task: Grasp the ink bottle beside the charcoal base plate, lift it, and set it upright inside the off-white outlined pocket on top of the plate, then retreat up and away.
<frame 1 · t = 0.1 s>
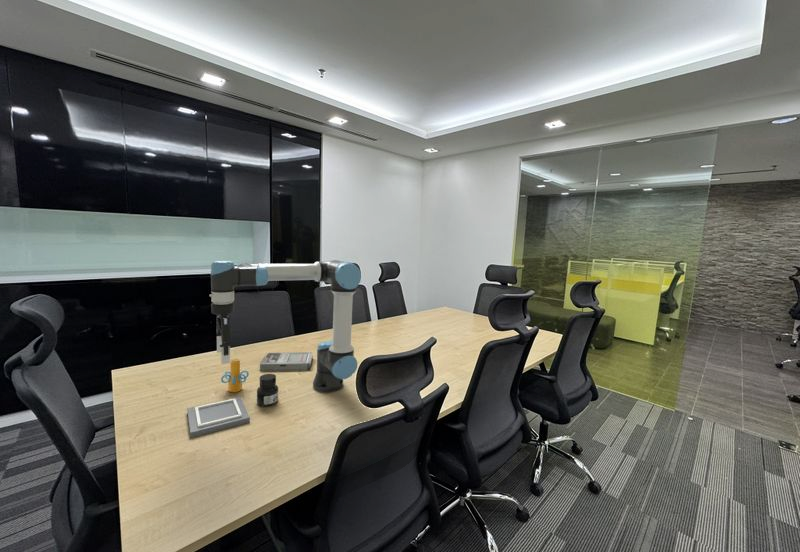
hand: (223, 357, 123), 28 cm above the table, fingers open, 13 cm apart
hard drive: (287, 365, 191), on the table
orange post with loops: (235, 390, 156), on the table
ink bottle: (267, 402, 146), on the table
base plate: (218, 417, 132), on the table
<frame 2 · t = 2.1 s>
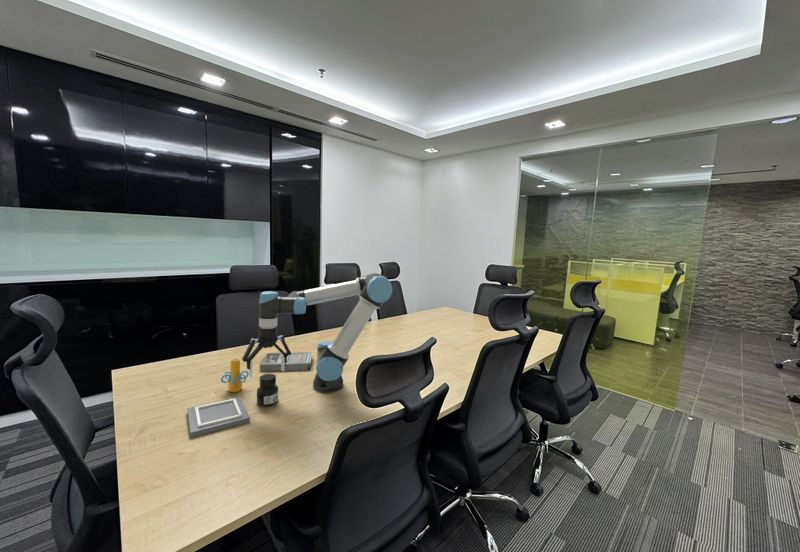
hand: (267, 373, 145), 14 cm above the table, fingers open, 13 cm apart
nothing on the table moved.
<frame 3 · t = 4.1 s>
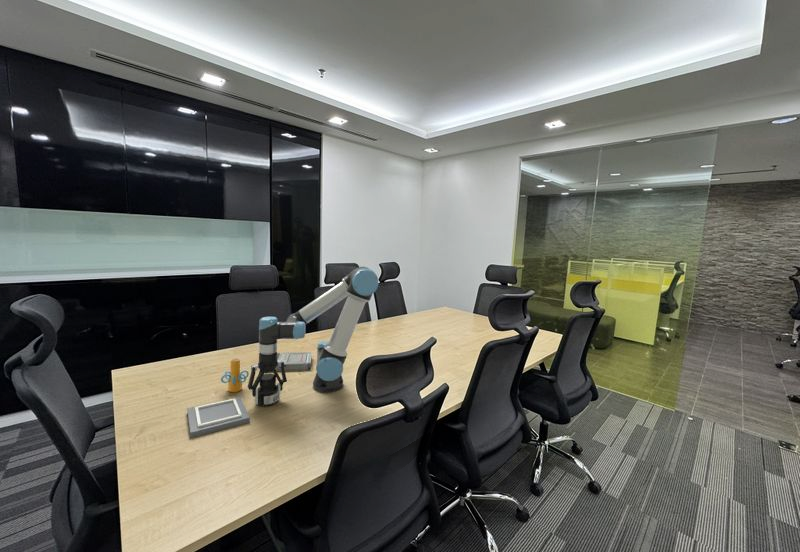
hand: (267, 400, 146), 1 cm above the table, fingers closed on ink bottle, 9 cm apart
ink bottle: (267, 402, 146), on the table, touching gripper
everything else where it was.
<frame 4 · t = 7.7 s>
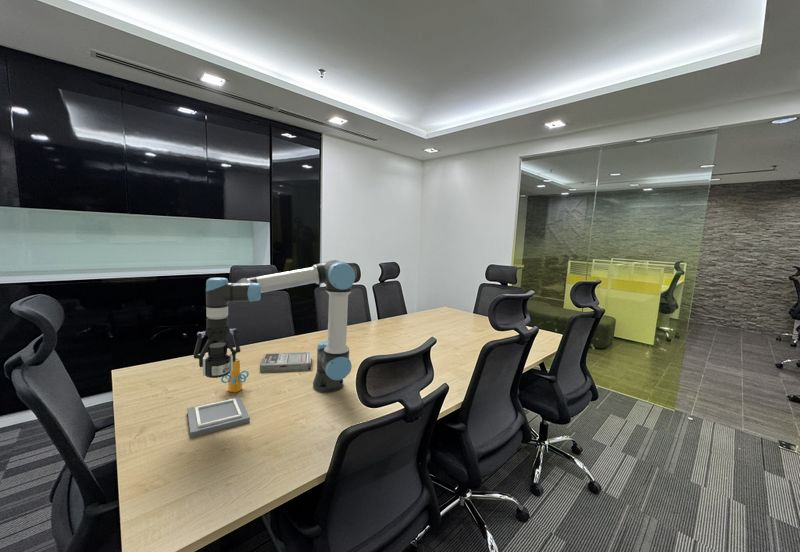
hand: (217, 371, 130), 19 cm above the table, fingers closed on ink bottle, 9 cm apart
ink bottle: (217, 374, 130), point 18 cm above the table, touching gripper
everything else where it was.
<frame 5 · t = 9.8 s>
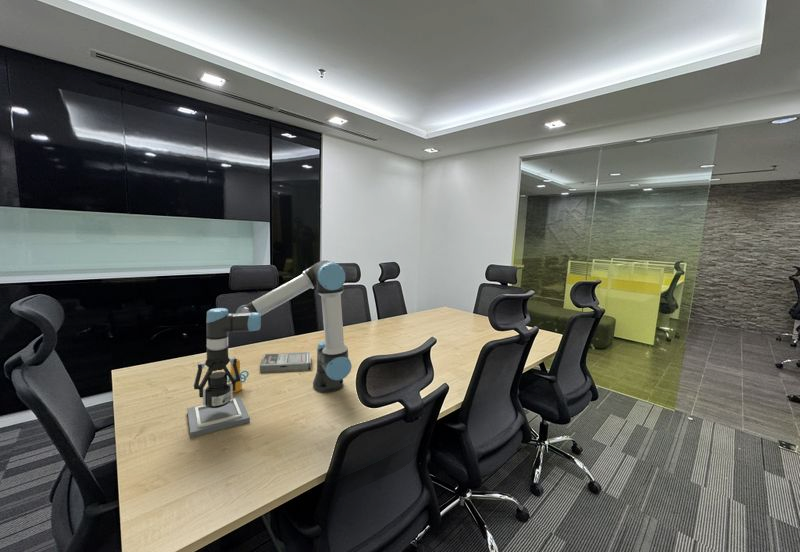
hand: (217, 401, 131), 7 cm above the table, fingers closed on ink bottle, 9 cm apart
ink bottle: (217, 403, 132), point 6 cm above the table, touching gripper
when the fingers open (4 cm above the table, at t = 11.3 s): ink bottle drops 1 cm, resting on base plate.
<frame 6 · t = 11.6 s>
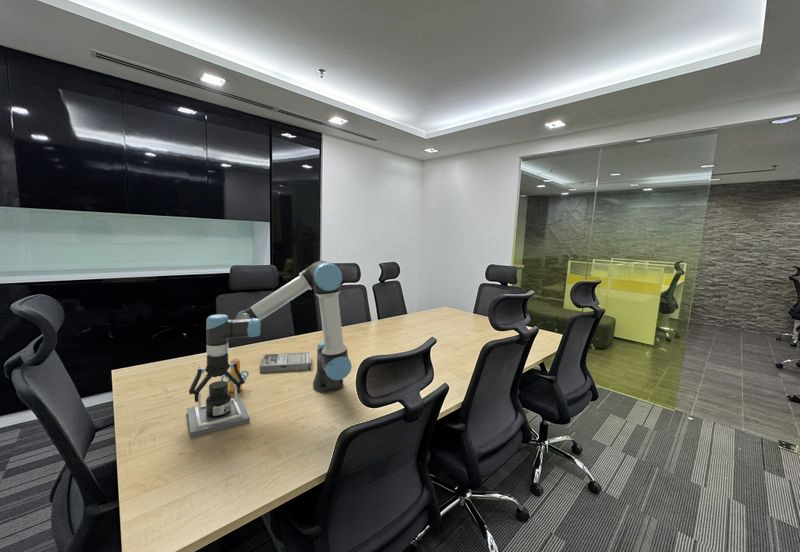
hand: (218, 404, 132), 5 cm above the table, fingers open, 12 cm apart
ink bottle: (218, 413, 132), point 2 cm above the table, touching base plate
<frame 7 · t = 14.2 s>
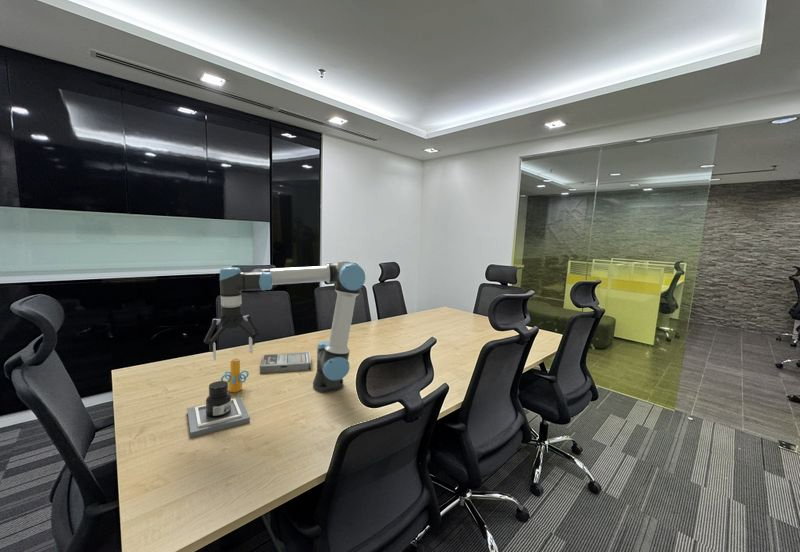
hand: (233, 355, 134), 25 cm above the table, fingers open, 13 cm apart
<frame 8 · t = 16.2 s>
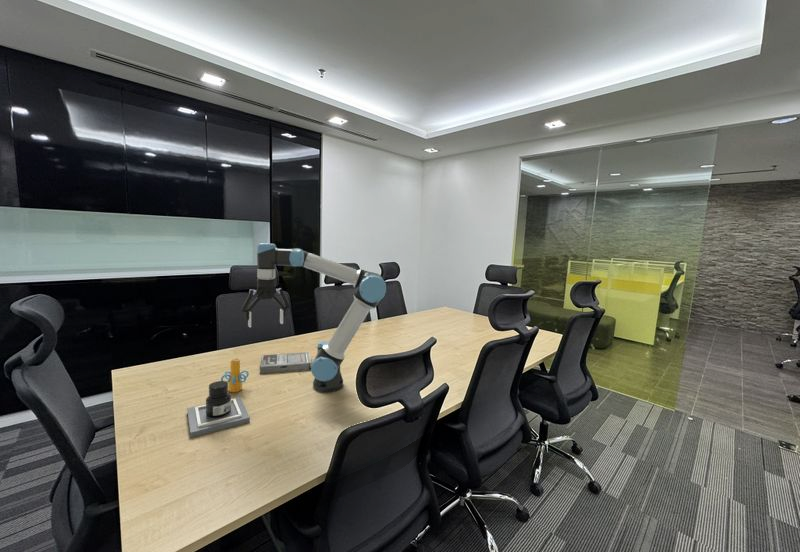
hand: (266, 325, 146), 35 cm above the table, fingers open, 13 cm apart
at the end: ink bottle inside the target area on the base plate (0.2 cm from its centre), point 1.8 cm above the base plate's base; ink bottle tilted 0°; the gripper is holding nothing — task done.
